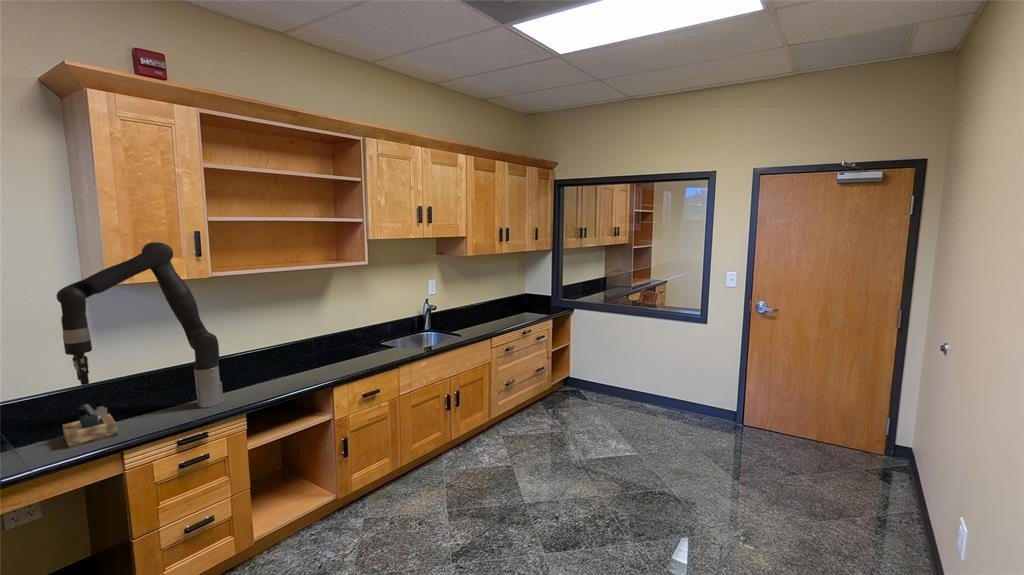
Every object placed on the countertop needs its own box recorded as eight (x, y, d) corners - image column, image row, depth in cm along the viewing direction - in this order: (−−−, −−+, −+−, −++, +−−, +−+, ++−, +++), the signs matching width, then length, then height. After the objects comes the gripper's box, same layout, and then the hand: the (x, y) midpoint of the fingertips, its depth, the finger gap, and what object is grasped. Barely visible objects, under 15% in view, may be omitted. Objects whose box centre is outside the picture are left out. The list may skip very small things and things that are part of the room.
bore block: (111, 425, 193) (109, 413, 192) (117, 435, 184) (116, 423, 183) (64, 437, 183) (62, 424, 182) (68, 448, 174) (66, 435, 173)
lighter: (106, 416, 202) (103, 398, 201) (108, 417, 201) (105, 399, 200) (85, 423, 196) (82, 404, 194) (87, 424, 195) (84, 405, 194)
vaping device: (81, 435, 182) (77, 405, 180) (99, 431, 186) (95, 401, 184) (82, 437, 180) (77, 407, 178) (100, 433, 184) (96, 403, 182)
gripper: (93, 341, 176) (99, 383, 178) (87, 335, 186) (93, 375, 188) (66, 345, 171) (72, 388, 173) (61, 339, 180) (67, 380, 182)
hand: (83, 381), depth 180 cm, fingers open, 8 cm apart
